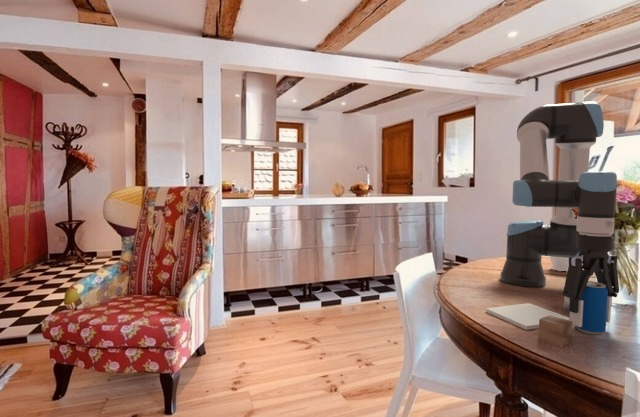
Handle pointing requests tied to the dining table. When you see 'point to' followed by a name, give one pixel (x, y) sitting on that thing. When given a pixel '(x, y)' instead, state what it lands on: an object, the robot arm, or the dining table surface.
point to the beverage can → (594, 308)
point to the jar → (560, 263)
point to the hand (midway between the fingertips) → (589, 322)
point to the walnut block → (555, 330)
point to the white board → (523, 314)
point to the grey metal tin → (566, 304)
